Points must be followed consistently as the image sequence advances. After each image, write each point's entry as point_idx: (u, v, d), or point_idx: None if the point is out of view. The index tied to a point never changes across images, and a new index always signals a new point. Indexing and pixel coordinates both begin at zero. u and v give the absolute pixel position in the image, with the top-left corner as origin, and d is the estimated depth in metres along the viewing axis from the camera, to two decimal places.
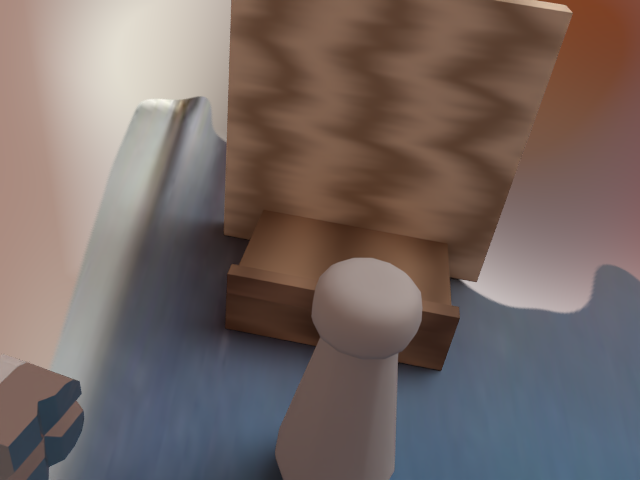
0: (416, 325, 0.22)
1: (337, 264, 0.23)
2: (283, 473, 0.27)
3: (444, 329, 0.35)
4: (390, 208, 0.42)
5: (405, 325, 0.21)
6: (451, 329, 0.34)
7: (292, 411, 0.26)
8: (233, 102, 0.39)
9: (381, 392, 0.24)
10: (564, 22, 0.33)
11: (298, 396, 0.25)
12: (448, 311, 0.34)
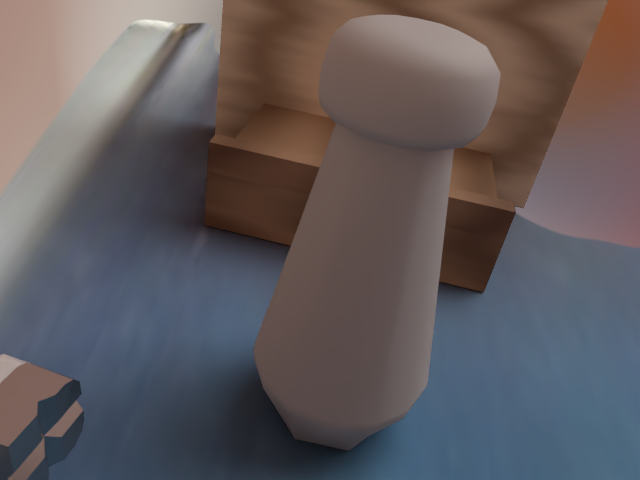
0: (490, 100, 0.13)
1: (363, 16, 0.14)
2: (263, 374, 0.18)
3: (492, 230, 0.26)
4: None
5: (475, 86, 0.13)
6: (502, 229, 0.26)
7: (281, 276, 0.17)
8: None
9: (421, 231, 0.15)
10: None
11: (291, 249, 0.17)
12: (500, 204, 0.26)
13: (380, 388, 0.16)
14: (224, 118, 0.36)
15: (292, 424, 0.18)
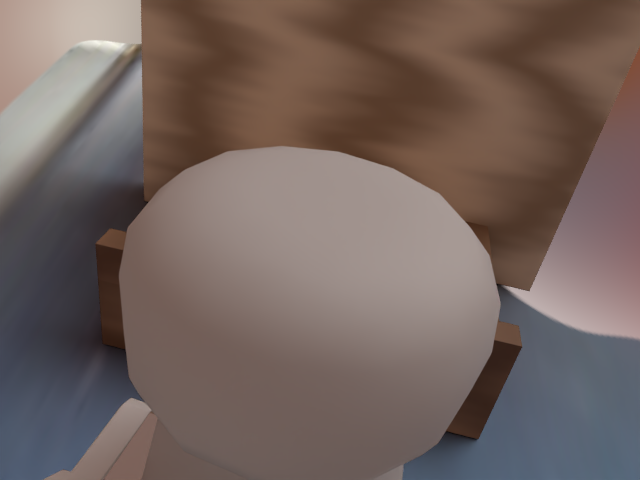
0: (477, 368, 0.06)
1: (222, 155, 0.07)
2: None
3: (489, 367, 0.19)
4: (398, 165, 0.26)
5: (441, 369, 0.05)
6: (503, 367, 0.18)
7: None
8: None
9: None
10: None
11: None
12: (500, 333, 0.18)
13: None
14: (154, 178, 0.29)
15: None
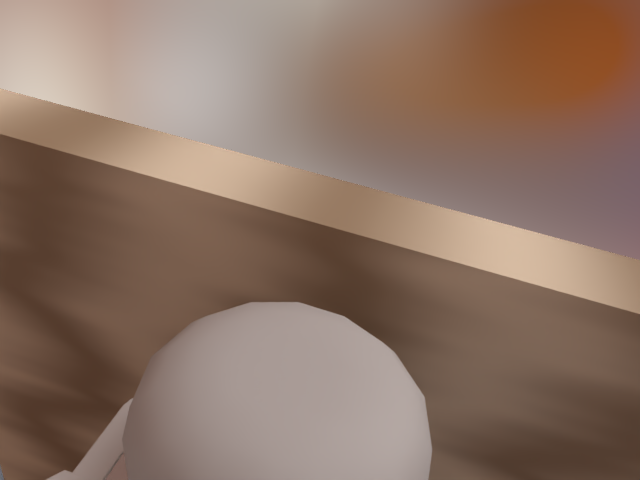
0: None
1: (201, 322, 0.09)
2: None
3: None
4: None
5: None
6: None
7: None
8: None
9: None
10: None
11: None
12: None
13: None
14: None
15: None
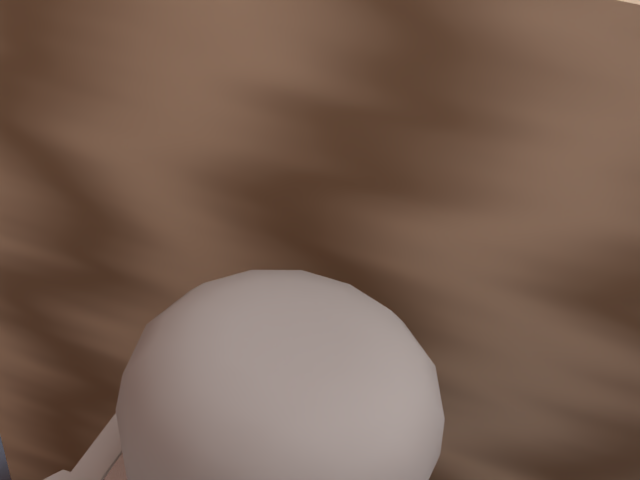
0: (427, 475, 0.07)
1: (199, 289, 0.08)
2: None
3: None
4: None
5: None
6: None
7: None
8: None
9: None
10: None
11: None
12: None
13: None
14: None
15: None
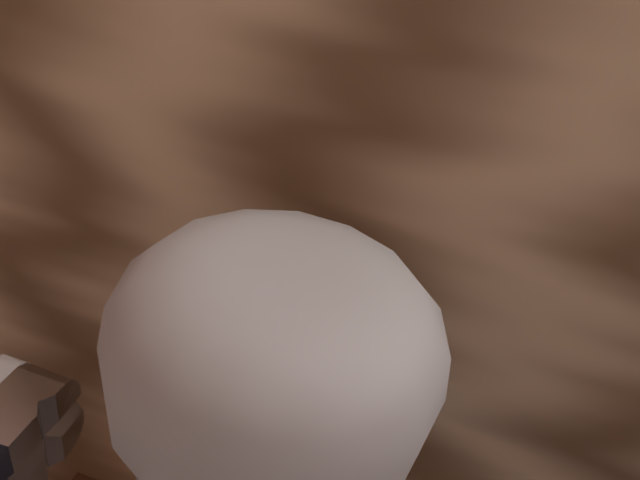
0: (432, 419, 0.07)
1: (189, 224, 0.08)
2: None
3: None
4: None
5: (398, 432, 0.06)
6: None
7: None
8: None
9: None
10: None
11: None
12: None
13: None
14: None
15: None
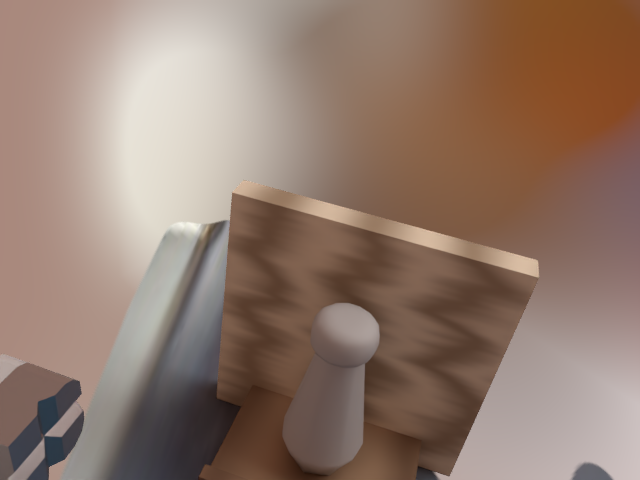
0: (375, 346, 0.35)
1: (326, 307, 0.36)
2: (288, 445, 0.39)
3: None
4: (368, 403, 0.44)
5: (368, 346, 0.34)
6: None
7: (295, 403, 0.39)
8: (228, 298, 0.43)
9: (354, 389, 0.37)
10: (531, 284, 0.35)
11: (299, 393, 0.38)
12: None
13: (341, 450, 0.38)
14: (223, 388, 0.48)
15: (302, 466, 0.40)
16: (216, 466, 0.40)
